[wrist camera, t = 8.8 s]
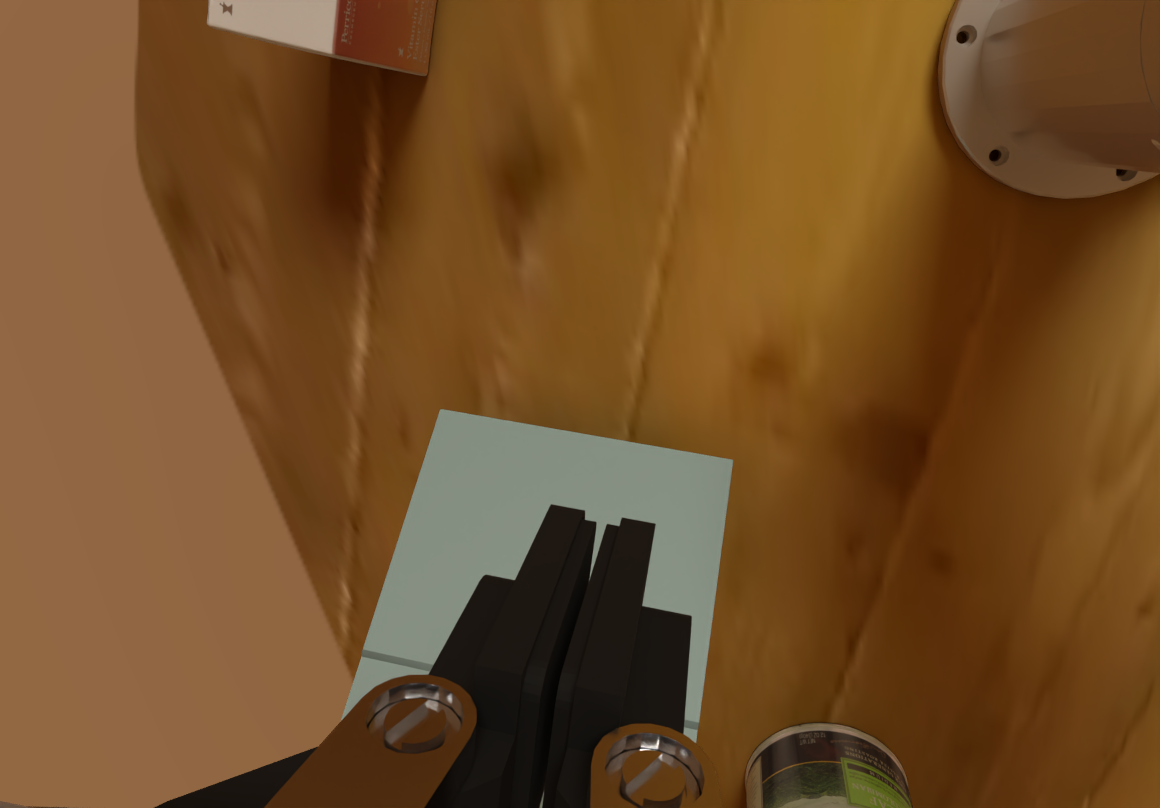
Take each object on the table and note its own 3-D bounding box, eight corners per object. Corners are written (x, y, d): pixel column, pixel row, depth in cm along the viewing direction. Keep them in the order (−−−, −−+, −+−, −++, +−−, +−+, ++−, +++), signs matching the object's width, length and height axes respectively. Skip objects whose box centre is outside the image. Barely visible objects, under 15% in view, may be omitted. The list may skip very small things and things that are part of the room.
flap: (731, 465, 41) (733, 459, 41) (646, 1111, 29) (646, 1118, 29) (443, 415, 43) (440, 409, 43) (256, 999, 31) (248, 1004, 31)
